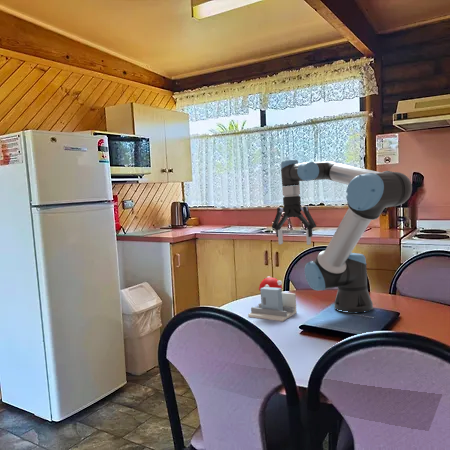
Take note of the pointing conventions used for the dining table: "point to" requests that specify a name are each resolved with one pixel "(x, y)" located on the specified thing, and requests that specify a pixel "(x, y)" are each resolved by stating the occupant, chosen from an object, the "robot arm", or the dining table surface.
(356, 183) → the robot arm
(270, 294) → the door
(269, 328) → the dining table surface
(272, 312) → the track
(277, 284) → the mushroom
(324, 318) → the dining table surface
